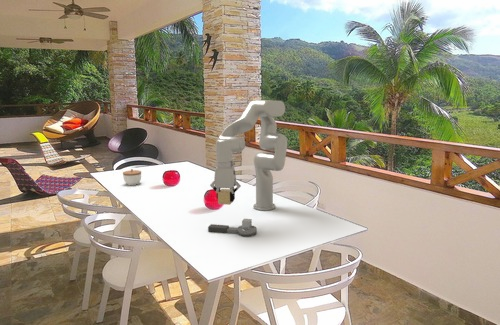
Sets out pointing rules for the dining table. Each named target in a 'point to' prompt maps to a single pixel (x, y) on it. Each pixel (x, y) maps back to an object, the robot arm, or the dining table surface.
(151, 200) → the dining table surface
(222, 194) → the brushed gold cube
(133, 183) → the lidded bowl
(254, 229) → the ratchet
